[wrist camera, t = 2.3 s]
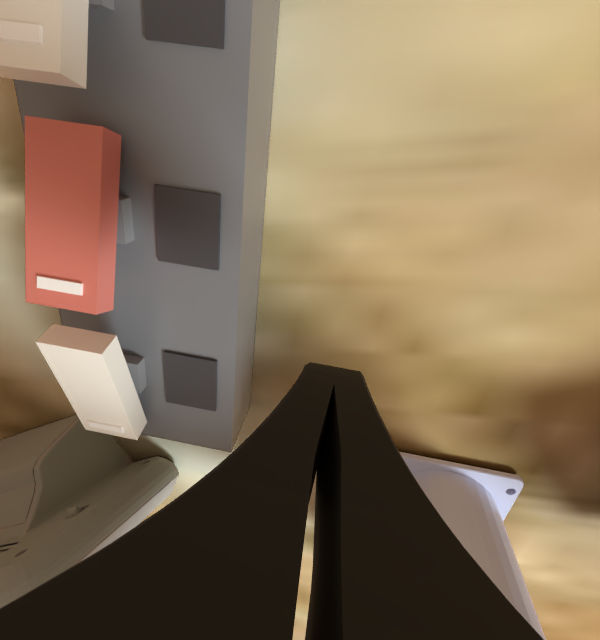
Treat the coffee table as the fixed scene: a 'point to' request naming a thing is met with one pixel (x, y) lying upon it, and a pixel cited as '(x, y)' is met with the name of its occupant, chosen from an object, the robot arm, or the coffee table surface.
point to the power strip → (181, 197)
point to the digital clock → (68, 500)
